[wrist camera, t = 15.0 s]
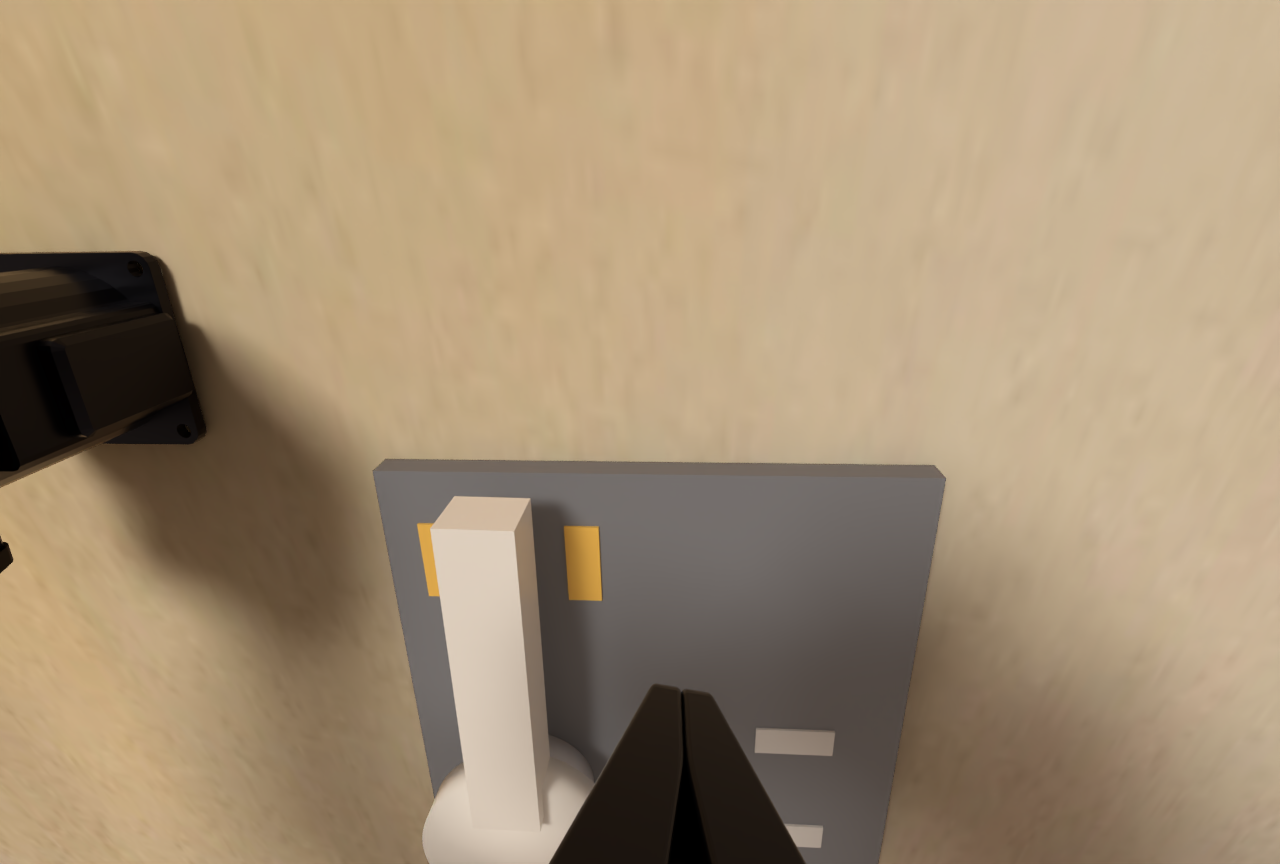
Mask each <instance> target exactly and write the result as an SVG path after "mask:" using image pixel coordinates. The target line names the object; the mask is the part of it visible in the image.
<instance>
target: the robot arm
mask: <svg viewBox="0 0 1280 864" xmlns="http://www.w3.org/2000/svg"><path fill="white" fill-rule="evenodd" d="M137 263H139V264H141V266H142V268H143V274H142V273H141V272H140V271H139V269H138V264H137ZM185 425H186V426H188V427H189V428H190V430H191V433H190V432H189V431H188V430H187V429H186V427H185ZM205 434H206V426H205V422H204V419H203V415H202V412H201V408H200V405H199V401H198V398H197V394H196V391H195V388H194V384H193V381H192V377H191V374H190V370H189V367H188V363H187V360H186V356H185V353H184V349H183V346H182V342H181V339H180V335H179V332H178V328H177V325H176V321H175V318H174V314H173V311H172V307H171V304H170V300H169V297H168V293H167V290H166V286H165V283H164V279H163V276H162V273H161V269H160V266H159V264H158V262H157V260H156V259H155V258H154V257H153V256H152V255H150V254H149V253H147V252H142V251H114V252H35V253H0V488H1V487H3V486H5V485H8V484H10V483H12V482H14V481H17V480H19V479H21V478H24V477H26V476H28V475H30V474H33V473H35V472H37V471H40V470H42V469H44V468H46V467H49V466H51V465H53V464H56V463H58V462H60V461H63V460H65V459H67V458H69V457H72V456H74V455H76V454H79V453H81V452H83V451H85V450H88V449H90V448H92V447H95V446H97V445H99V444H101V443H109V444H192V443H194V442H196V441H198V440H200V439H202V438H203V437H204V436H205ZM12 562H13V557H12V554H11V551H10V548H9V545H8V543H6V542H2V539H1V536H0V573H1V572H2V571H3V570H5V569H6V568H7V567H8V566H9V565H10V564H11V563H12ZM549 864H806V862H805V860H804V859H803V857H802V855H801V853H800V851H799V850H798V848H797V846H796V844H795V843H794V841H793V839H792V837H791V835H790V834H789V832H788V830H787V828H786V826H785V825H784V823H783V821H782V819H781V817H780V816H779V814H778V812H777V810H776V808H775V807H774V805H773V803H772V801H771V799H770V798H769V796H768V794H767V792H766V790H765V789H764V787H763V785H762V783H761V781H760V780H759V778H758V776H757V774H756V773H755V771H754V769H753V767H752V765H751V764H750V762H749V760H748V758H747V756H746V755H745V753H744V751H743V749H742V747H741V746H740V744H739V742H738V740H737V738H736V737H735V735H734V733H733V731H732V729H731V728H730V726H729V724H728V722H727V720H726V719H725V717H724V715H723V713H722V712H721V710H720V708H719V706H718V704H717V703H716V701H715V699H714V697H713V696H712V695H711V694H710V693H708V692H704V691H698V690H693V689H684V690H682V692H681V690H680V689H679V688H678V687H676V686H670V685H664V684H658V683H655V684H653V685H651V687H650V688H649V690H648V692H647V693H646V695H645V697H644V699H643V700H642V702H641V704H640V706H639V707H638V709H637V711H636V713H635V714H634V716H633V718H632V720H631V721H630V723H629V725H628V727H627V728H626V730H625V732H624V733H623V735H622V737H621V739H620V740H619V742H618V744H617V746H616V747H615V749H614V751H613V753H612V754H611V756H610V758H609V760H608V761H607V763H606V765H605V767H604V768H603V770H602V772H601V774H600V775H599V777H598V779H597V781H596V782H595V784H594V786H593V787H592V789H591V791H590V793H589V794H588V796H587V798H586V800H585V801H584V803H583V805H582V807H581V808H580V810H579V812H578V814H577V815H576V817H575V819H574V821H573V822H572V824H571V826H570V828H569V829H568V831H567V833H566V834H565V836H564V838H563V840H562V841H561V843H560V845H559V847H558V848H557V850H556V852H555V854H554V855H553V857H552V859H551V861H550V862H549Z"/></svg>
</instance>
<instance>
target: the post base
mask: <svg viewBox="0 0 1280 864" xmlns="http://www.w3.org/2000/svg"><path fill="white" fill-rule="evenodd" d="M373 475H374V481H375V486H376V491H377V497H378V502H379V507H380V512H381V518H382V523H383V528H384V534H385V539H386V544H387V549H388V555H389V560H390V565H391V571H392V576H393V581H394V587H395V592H396V597H397V602H398V608H399V613H400V618H401V624H402V629H403V634H404V639H405V645H406V650H407V655H408V661H409V666H410V671H411V676H412V682H413V687H414V692H415V698H416V703H417V708H418V713H419V719H420V724H421V729H422V735H423V740H424V745H425V750H426V756H427V761H428V766H429V772H430V777H431V782H432V788H433V793H434V798H435V797H436V795H437V792H438V790H439V787H440V786H441V784H442V782H443V780H444V779H445V777H446V776H447V775H448V774H449V773H450V772H451V771H452V770H453V769H454V768H455V767H456V766H458V765H459V764H461V763H462V762H463V755H462V748H461V741H460V734H459V727H458V721H457V714H456V707H455V700H454V693H453V686H452V679H451V672H450V665H449V658H448V651H447V644H446V637H445V630H444V623H443V616H442V609H441V602H440V595H439V588H438V581H437V574H436V567H435V560H434V553H433V546H432V539H431V532H430V528H431V527H432V525H433V524H434V523H435V521H436V520H437V519H438V517H439V516H440V515H441V513H442V512H443V511H444V509H445V508H446V507H447V505H448V504H449V503H450V501H451V500H452V499H453V497H454V496H468V497H504V498H531V511H532V524H533V538H534V551H535V564H536V578H537V591H538V604H539V618H540V631H541V644H542V658H543V671H544V684H545V698H546V711H547V724H548V738H549V751H550V757H553V758H555V759H558V760H560V761H563V762H565V763H567V764H569V765H571V766H572V767H574V768H576V769H577V770H579V771H580V772H582V773H583V774H585V775H586V776H587V777H588V778H589V779H591V780H592V781H593V782H594V783H595V782H596V781H597V779H598V777H599V775H600V774H601V772H602V770H603V768H604V767H605V765H606V763H607V761H608V760H609V758H610V756H611V754H612V753H613V751H614V749H615V747H616V746H617V744H618V742H619V740H620V739H621V737H622V735H623V733H624V732H625V730H626V728H627V727H628V725H629V723H630V721H631V720H632V718H633V716H634V714H635V713H636V711H637V709H638V707H639V706H640V704H641V702H642V700H643V699H644V697H645V695H646V693H647V692H648V690H649V688H650V687H651V685H653V684H655V683H658V684H664V685H670V686H676V687H678V688H679V689H680V690H681V692H682V690H684V689H693V690H698V691H704V692H708V693H710V694H711V695H712V696H713V697H714V699H715V701H716V703H717V704H718V706H719V708H720V710H721V712H722V713H723V715H724V717H725V719H726V720H727V722H728V724H729V726H730V728H731V729H732V731H733V733H734V735H735V737H736V738H737V740H738V742H739V744H740V746H741V747H742V749H743V751H744V753H745V755H746V756H747V758H748V760H749V762H750V764H751V765H752V767H753V769H754V771H755V773H756V774H757V776H758V778H759V780H760V781H761V783H762V785H763V787H764V789H765V790H766V792H767V794H768V796H769V798H770V799H771V801H772V803H773V805H774V807H775V808H776V810H777V812H778V814H779V816H780V817H781V819H782V821H783V823H784V825H785V826H786V828H787V830H788V832H789V834H790V835H791V837H792V839H793V841H794V843H795V844H796V846H797V848H798V850H799V851H800V853H801V855H802V857H803V859H804V860H805V862H806V864H878V862H879V856H880V851H881V845H882V839H883V834H884V828H885V822H886V817H887V811H888V805H889V799H890V794H891V788H892V782H893V777H894V771H895V765H896V760H897V754H898V748H899V743H900V737H901V731H902V726H903V720H904V714H905V709H906V703H907V697H908V691H909V686H910V680H911V674H912V669H913V663H914V657H915V652H916V646H917V640H918V635H919V629H920V623H921V618H922V612H923V606H924V600H925V595H926V589H927V583H928V578H929V572H930V566H931V561H932V555H933V549H934V544H935V538H936V532H937V527H938V521H939V515H940V509H941V504H942V498H943V492H944V487H945V481H946V478H945V477H944V475H943V474H942V473H941V472H940V471H939V470H938V469H937V468H936V467H935V465H858V464H770V463H682V462H594V461H506V460H419V459H385V460H384V461H383V462H382V463H381V464H380V465H379V466H378V467H376V468H375V469H374V470H373Z"/></svg>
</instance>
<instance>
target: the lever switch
mask: <svg viewBox="0 0 1280 864" xmlns="http://www.w3.org/2000/svg"><path fill="white" fill-rule="evenodd" d="M430 532H431V539H432V546H433V553H434V560H435V567H436V574H437V581H438V588H439V595H440V602H441V609H442V616H443V623H444V630H445V637H446V644H447V651H448V658H449V665H450V672H451V679H452V686H453V693H454V700H455V707H456V714H457V721H458V727H459V734H460V741H461V748H462V755H463V762H462V763H461V764H459V765H458V766H456V767H455V768H454V769H453V770H452V771H451V772H450V773H449V774H448V775H447V776H446V777H445V779H444V780H443V782H442V784H441V786H440V787H439V790H438V792H437V795H436V797H435V800H434V802H433V804H432V807H431V809H430V812H429V814H428V817H427V819H426V822H425V825H424V828H423V835H422V842H423V849H424V852H425V856H426V858H427V860H428V862H429V864H549V862H550V861H551V859H552V857H553V855H554V854H555V852H556V850H557V848H558V847H559V845H560V843H561V841H562V840H563V838H564V836H565V834H566V833H567V831H568V829H569V828H570V826H571V824H572V822H573V821H574V819H575V817H576V815H577V814H578V812H579V810H580V808H581V807H582V805H583V803H584V801H585V800H586V798H587V796H588V794H589V793H590V791H591V789H592V787H593V786H594V784H595V783H594V782H593V781H592V780H591V779H589V778H588V777H587V776H586V775H585V774H583V773H582V772H580V771H579V770H577V769H576V768H574V767H572V766H571V765H569V764H567V763H565V762H563V761H560V760H558V759H555V758H553V757H550V751H549V738H548V724H547V711H546V698H545V684H544V671H543V658H542V644H541V631H540V618H539V604H538V591H537V578H536V564H535V551H534V538H533V524H532V511H531V498H504V497H468V496H454V497H453V499H452V500H451V501H450V503H449V504H448V505H447V507H446V508H445V509H444V511H443V512H442V513H441V515H440V516H439V517H438V519H437V520H436V521H435V523H434V524H433V525H432V527H431V528H430Z"/></svg>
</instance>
